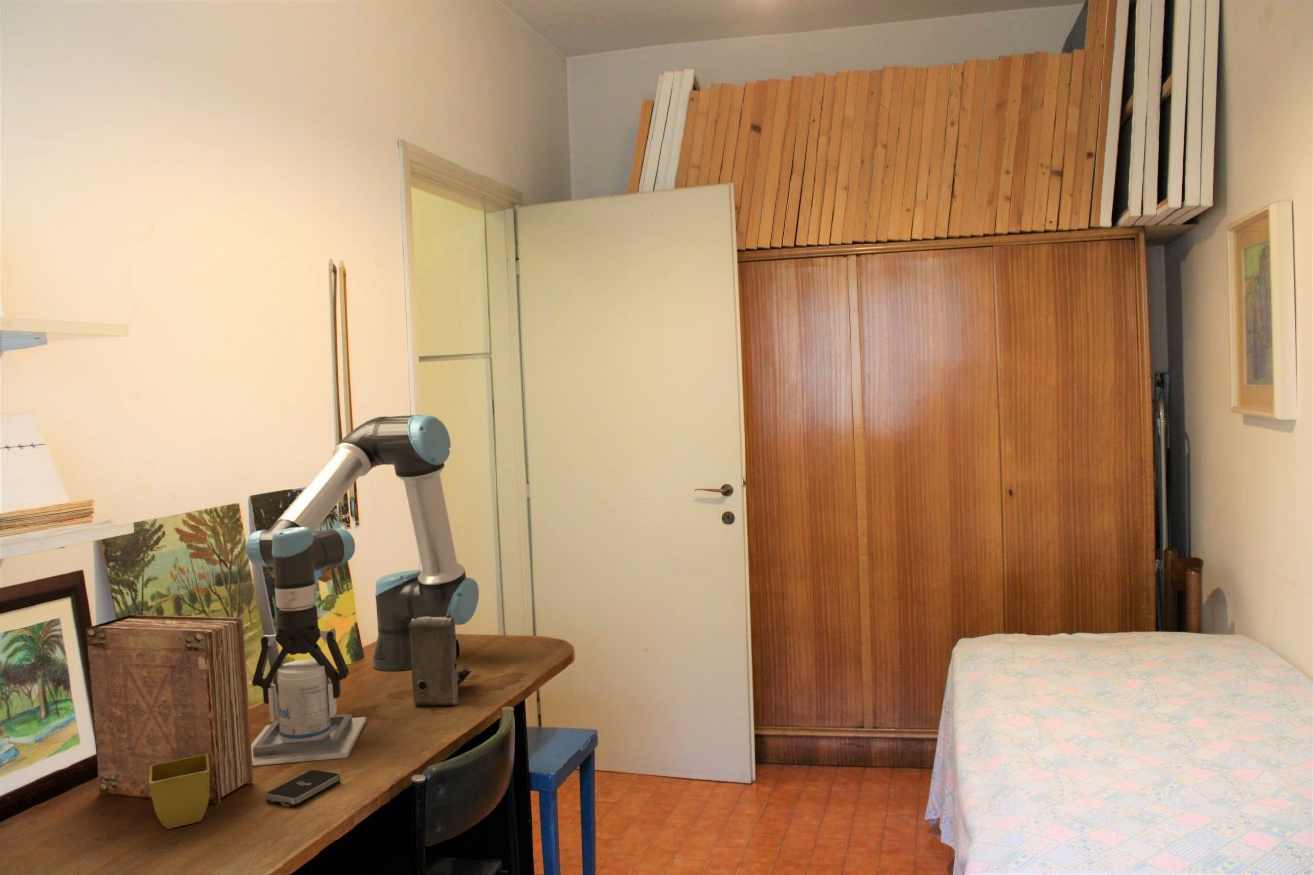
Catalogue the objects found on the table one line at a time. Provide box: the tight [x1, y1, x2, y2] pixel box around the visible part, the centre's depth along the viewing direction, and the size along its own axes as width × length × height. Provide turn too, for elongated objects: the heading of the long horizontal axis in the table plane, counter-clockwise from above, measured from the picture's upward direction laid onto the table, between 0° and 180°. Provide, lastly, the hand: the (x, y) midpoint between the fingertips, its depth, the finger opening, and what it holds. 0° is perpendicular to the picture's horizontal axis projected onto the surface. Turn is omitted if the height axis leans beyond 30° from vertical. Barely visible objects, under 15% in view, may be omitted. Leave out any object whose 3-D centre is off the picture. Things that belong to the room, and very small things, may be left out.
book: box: [85, 614, 255, 806], centre depth 169 cm, size 25×9×30 cm, turn 74°
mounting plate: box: [251, 713, 367, 767], centre depth 189 cm, size 20×20×3 cm
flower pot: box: [149, 754, 210, 830], centre depth 156 cm, size 9×9×9 cm
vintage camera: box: [409, 615, 472, 707], centre depth 215 cm, size 10×16×20 cm, turn 174°
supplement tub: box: [276, 658, 331, 743], centre depth 189 cm, size 10×10×15 cm
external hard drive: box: [265, 768, 341, 809], centre depth 165 cm, size 7×11×2 cm, turn 156°
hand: (303, 716), depth 189 cm, fingers open, 11 cm apart
